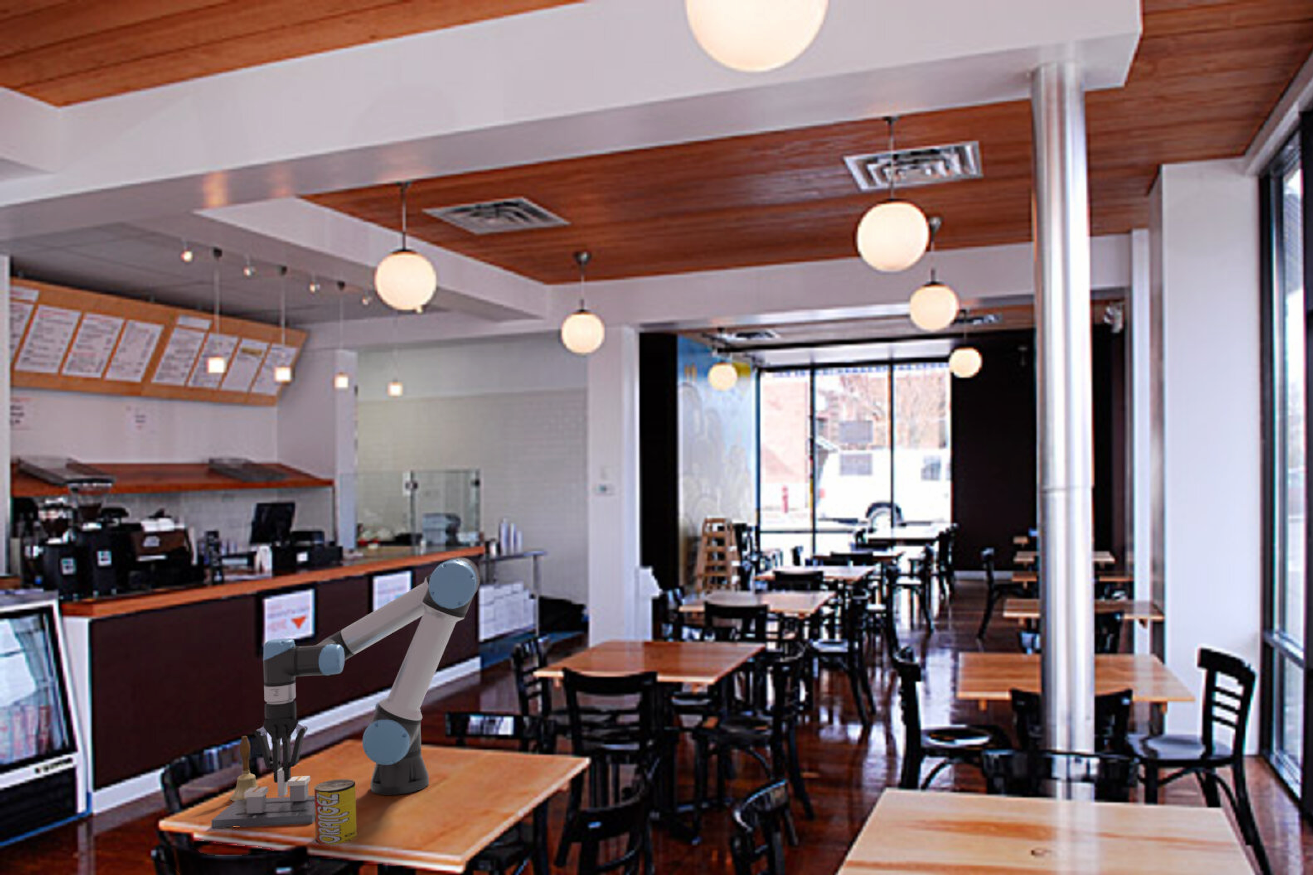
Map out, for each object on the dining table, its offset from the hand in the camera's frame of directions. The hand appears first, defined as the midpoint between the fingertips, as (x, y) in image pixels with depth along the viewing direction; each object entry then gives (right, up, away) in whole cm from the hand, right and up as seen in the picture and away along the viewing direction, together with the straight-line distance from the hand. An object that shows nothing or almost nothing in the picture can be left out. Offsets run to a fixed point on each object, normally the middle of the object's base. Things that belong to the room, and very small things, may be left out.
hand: (282, 794), depth 256 cm
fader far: (+4, -1, 0) cm, 4 cm away
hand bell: (-14, -5, +12) cm, 20 cm away
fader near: (-3, -1, -8) cm, 9 cm away
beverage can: (+21, -2, -23) cm, 31 cm away
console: (-1, -4, -4) cm, 6 cm away
